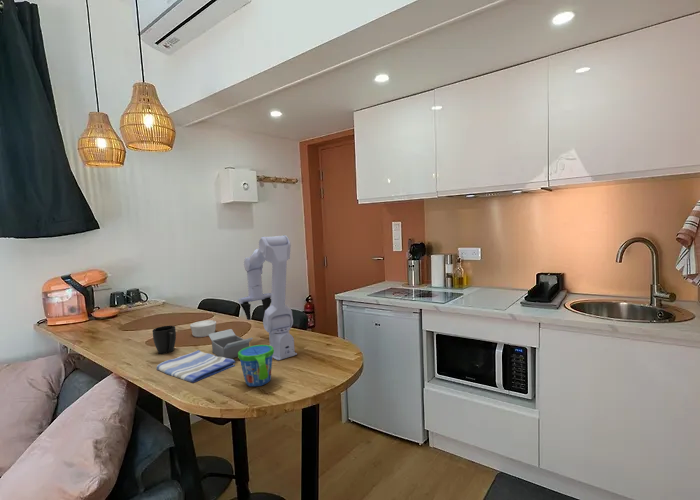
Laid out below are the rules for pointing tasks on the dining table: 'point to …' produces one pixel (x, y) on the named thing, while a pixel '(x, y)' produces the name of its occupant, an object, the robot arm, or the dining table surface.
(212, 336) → the far flap
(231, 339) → the carton
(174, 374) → the dish towel
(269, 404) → the dining table surface
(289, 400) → the dining table surface
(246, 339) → the near flap
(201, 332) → the ramekin
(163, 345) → the mug
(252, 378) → the snack cup
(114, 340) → the dining table surface
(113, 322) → the dining table surface
